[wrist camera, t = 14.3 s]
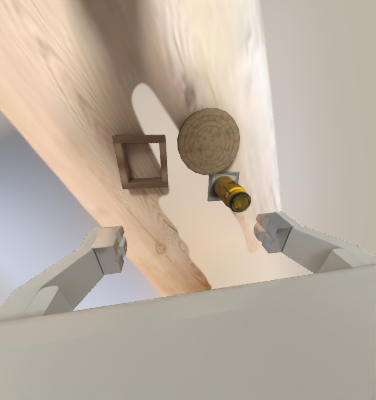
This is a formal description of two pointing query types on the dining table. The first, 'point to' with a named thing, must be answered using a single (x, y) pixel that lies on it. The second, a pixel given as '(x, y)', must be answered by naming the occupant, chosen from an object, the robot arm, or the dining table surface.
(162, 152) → the holder
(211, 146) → the round cork trivet
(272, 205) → the dining table surface
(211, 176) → the coaster
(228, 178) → the condiment
